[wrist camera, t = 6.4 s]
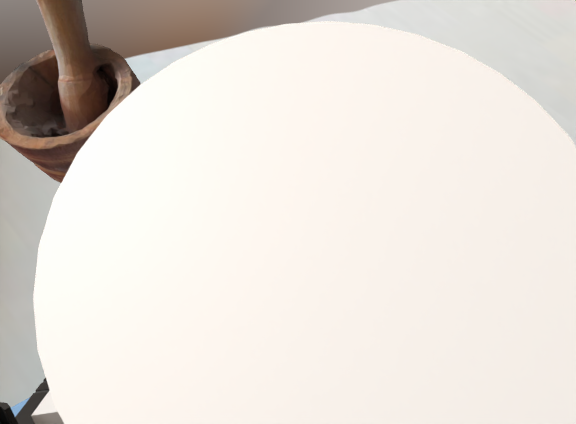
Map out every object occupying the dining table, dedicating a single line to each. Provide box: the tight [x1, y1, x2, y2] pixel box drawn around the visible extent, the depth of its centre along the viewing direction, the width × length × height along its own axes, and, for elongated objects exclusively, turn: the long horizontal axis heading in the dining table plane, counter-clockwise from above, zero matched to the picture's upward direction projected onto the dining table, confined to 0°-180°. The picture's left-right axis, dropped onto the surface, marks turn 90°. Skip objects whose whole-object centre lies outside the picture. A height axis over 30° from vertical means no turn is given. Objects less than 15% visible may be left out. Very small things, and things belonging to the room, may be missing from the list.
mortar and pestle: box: [0, 0, 141, 183], centre depth 26 cm, size 12×9×20 cm
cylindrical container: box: [33, 21, 576, 424], centre depth 16 cm, size 7×7×25 cm
